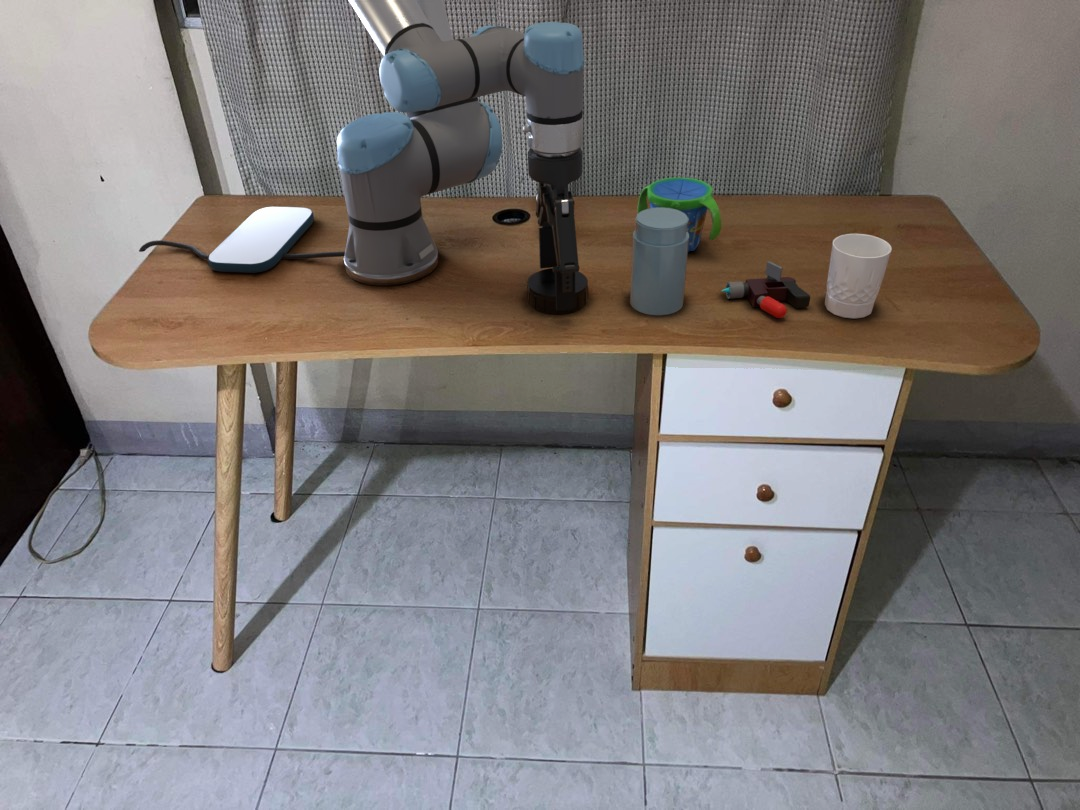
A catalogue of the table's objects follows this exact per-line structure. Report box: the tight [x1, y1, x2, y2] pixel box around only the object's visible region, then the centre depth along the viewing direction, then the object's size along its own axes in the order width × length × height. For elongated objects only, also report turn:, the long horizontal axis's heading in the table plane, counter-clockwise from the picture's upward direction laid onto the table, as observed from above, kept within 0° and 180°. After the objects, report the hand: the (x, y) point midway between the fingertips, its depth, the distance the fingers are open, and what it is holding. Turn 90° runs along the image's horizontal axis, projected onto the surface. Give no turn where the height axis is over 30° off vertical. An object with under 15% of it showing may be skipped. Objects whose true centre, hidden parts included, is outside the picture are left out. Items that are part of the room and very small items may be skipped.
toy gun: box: [720, 260, 811, 319], centre depth 122 cm, size 10×12×5 cm
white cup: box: [824, 233, 893, 320], centre depth 119 cm, size 8×8×10 cm
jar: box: [629, 207, 689, 316], centre depth 121 cm, size 8×8×14 cm
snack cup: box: [636, 176, 722, 253], centre depth 138 cm, size 16×10×10 cm
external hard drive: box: [207, 206, 315, 274], centre depth 145 cm, size 24×12×2 cm, turn 172°
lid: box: [526, 267, 589, 315], centre depth 126 cm, size 9×9×3 cm
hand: (556, 287), depth 126 cm, fingers open, 13 cm apart
